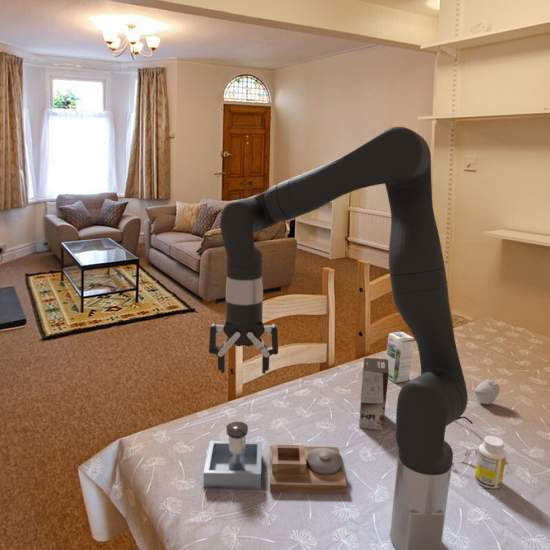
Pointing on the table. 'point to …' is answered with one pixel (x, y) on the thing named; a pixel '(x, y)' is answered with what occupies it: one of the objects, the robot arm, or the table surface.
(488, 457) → the supplement bottle
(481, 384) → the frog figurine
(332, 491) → the block
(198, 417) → the table surface
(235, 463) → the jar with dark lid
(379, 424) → the coffee box
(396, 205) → the robot arm
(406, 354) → the syrup box
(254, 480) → the tray
